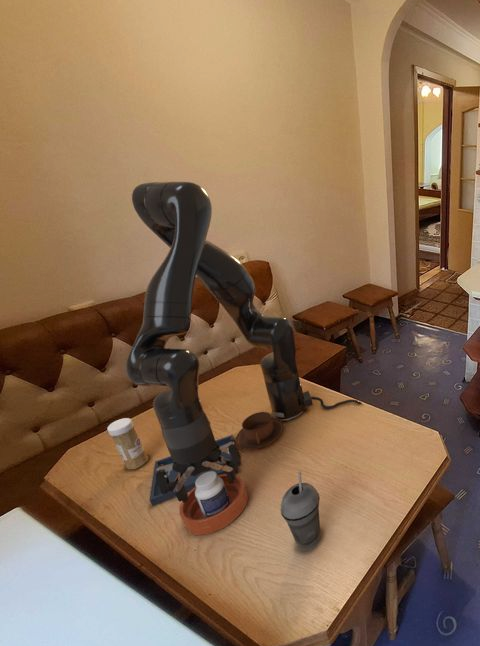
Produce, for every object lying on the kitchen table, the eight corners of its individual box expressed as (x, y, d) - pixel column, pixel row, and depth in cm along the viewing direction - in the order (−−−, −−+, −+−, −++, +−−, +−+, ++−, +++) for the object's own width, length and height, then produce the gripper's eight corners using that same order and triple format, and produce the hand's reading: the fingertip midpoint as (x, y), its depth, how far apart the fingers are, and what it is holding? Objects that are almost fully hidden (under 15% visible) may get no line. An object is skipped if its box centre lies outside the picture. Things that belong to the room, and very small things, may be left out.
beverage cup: (297, 524, 80) (281, 459, 72) (331, 522, 80) (318, 457, 72) (285, 559, 73) (265, 491, 65) (321, 556, 74) (306, 488, 66)
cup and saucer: (290, 437, 103) (287, 420, 101) (245, 460, 95) (239, 443, 93) (275, 416, 111) (271, 401, 108) (231, 437, 103) (226, 420, 101)
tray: (234, 440, 102) (232, 434, 101) (237, 472, 92) (235, 466, 91) (157, 467, 93) (155, 461, 92) (152, 506, 83) (149, 500, 82)
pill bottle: (236, 502, 84) (226, 472, 80) (215, 522, 79) (203, 492, 75) (219, 495, 86) (208, 465, 82) (197, 515, 81) (184, 484, 77)
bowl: (245, 478, 90) (241, 465, 89) (250, 516, 81) (246, 503, 79) (186, 502, 84) (180, 489, 82) (184, 547, 75) (177, 533, 73)
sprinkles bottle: (147, 465, 93) (129, 425, 88) (124, 473, 91) (104, 432, 86) (149, 453, 97) (132, 414, 92) (127, 460, 95) (108, 421, 89)
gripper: (141, 461, 67) (168, 519, 73) (230, 431, 74) (247, 486, 81) (146, 436, 72) (170, 492, 79) (228, 411, 80) (244, 464, 86)
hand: (209, 489), depth 80 cm, fingers open, 8 cm apart
